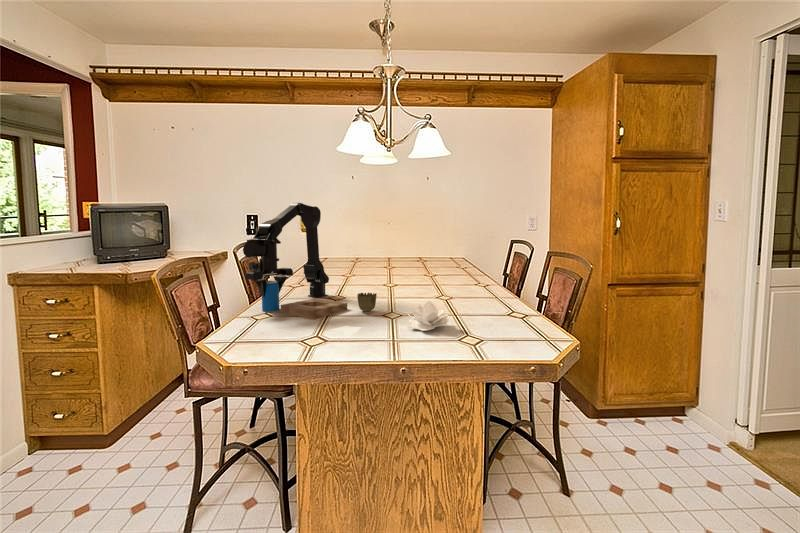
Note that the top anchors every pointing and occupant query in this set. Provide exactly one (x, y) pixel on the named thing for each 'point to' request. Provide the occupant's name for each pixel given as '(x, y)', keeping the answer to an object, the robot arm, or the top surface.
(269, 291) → the beverage can
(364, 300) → the cup
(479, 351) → the top surface
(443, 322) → the lotus flower
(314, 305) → the can holder
